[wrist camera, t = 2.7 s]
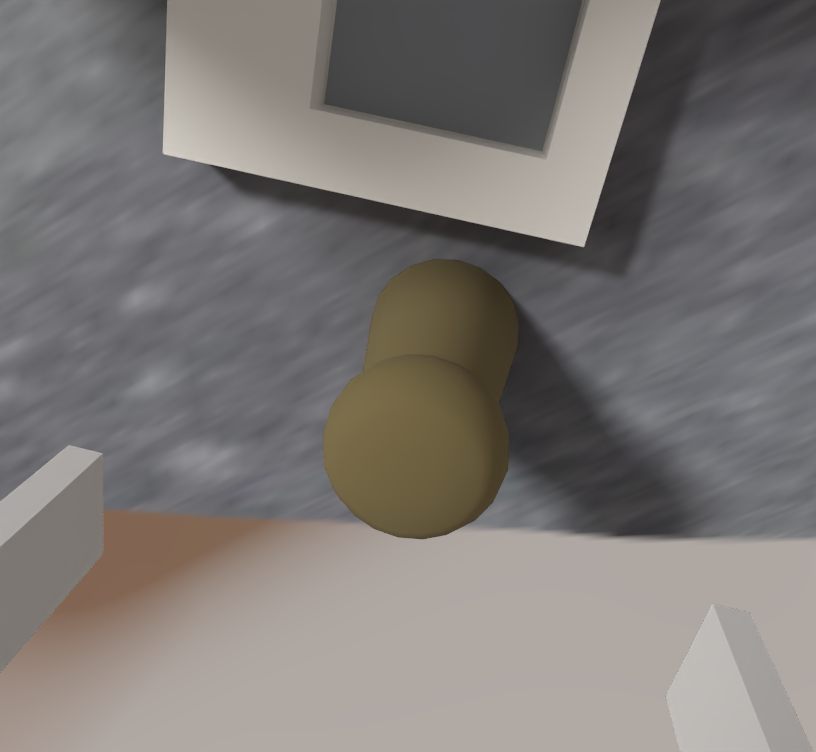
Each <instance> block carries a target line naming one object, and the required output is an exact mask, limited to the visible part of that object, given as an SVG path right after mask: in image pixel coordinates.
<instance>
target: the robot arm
mask: <svg viewBox="0 0 816 752" xmlns="http://www.w3.org/2000/svg"><path fill="white" fill-rule="evenodd" d="M102 554H103V453H99V452H95V451H91V450H87V449H82V448H78V447H74V446H70V445H68V446H67V447H66V448H65V449H64V450H62V451H61V452H60V453H59V454H57V455H56V456H55V457H54V458H53V459H51V460H50V461H49V462H48V463H47V464H45V465H44V466H43V467H42V468H40V469H39V470H38V471H37V472H36V473H34V474H33V475H32V476H31V477H30V478H28V479H27V480H26V481H25V482H23V483H22V484H21V485H20V486H19V487H17V488H16V489H15V490H14V491H12V492H11V493H10V494H9V495H8V496H6V497H5V498H4V499H3V500H2V501H0V673H1V671H2V670H3V669H4V668H5V667H6V666H7V665H8V663H9V662H10V661H11V660H12V659H13V658H14V656H15V655H16V654H17V653H18V652H19V651H20V649H21V648H22V647H23V646H24V645H25V644H26V643H27V641H28V640H29V639H30V638H31V637H32V636H33V634H34V633H35V632H36V631H37V630H38V629H39V627H40V626H41V625H42V624H43V623H44V622H45V620H46V619H47V618H48V617H49V616H50V615H51V613H52V612H53V611H54V610H55V609H56V608H57V607H58V605H59V604H60V603H61V602H62V601H63V600H64V598H65V597H66V596H67V595H68V594H69V593H70V591H71V590H72V589H73V588H74V587H75V586H76V585H77V583H78V582H79V581H80V580H81V579H82V577H83V576H84V575H85V574H86V573H87V572H88V571H89V570H90V568H91V567H92V566H93V565H94V564H95V563H96V561H97V560H98V559H99V558H100V557H101V555H102ZM666 700H667V704H668V708H669V712H670V715H671V719H672V723H673V727H674V731H675V735H676V739H677V743H678V747H679V751H680V752H813V750H812V748H811V746H810V744H809V741H808V739H807V737H806V735H805V732H804V730H803V728H802V726H801V724H800V721H799V719H798V717H797V715H796V713H795V710H794V708H793V706H792V704H791V702H790V699H789V697H788V695H787V693H786V691H785V689H784V686H783V684H782V682H781V680H780V678H779V675H778V673H777V671H776V669H775V667H774V664H773V662H772V660H771V658H770V656H769V653H768V651H767V649H766V647H765V645H764V642H763V640H762V638H761V636H760V634H759V632H758V629H757V627H756V625H755V623H754V620H753V619H752V616H751V614H750V612H746V611H741V610H737V609H733V608H729V607H725V606H721V605H717V604H712V606H711V608H710V610H709V612H708V614H707V615H706V617H705V620H704V621H703V623H702V625H701V627H700V629H699V631H698V633H697V635H696V637H695V639H694V641H693V643H692V645H691V647H690V649H689V651H688V653H687V655H686V657H685V659H684V661H683V663H682V665H681V667H680V668H679V670H678V673H677V675H676V676H675V678H674V680H673V682H672V684H671V687H670V688H669V690H668V692H667V695H666Z"/></svg>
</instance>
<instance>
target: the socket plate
mask: <svg viewBox="0 0 816 752" xmlns="http://www.w3.org/2000/svg"><path fill="white" fill-rule="evenodd" d="M660 1H661V0H167V28H166V63H165V97H164V132H163V154H166V155H170V156H175V157H179V158H184V159H188V160H193V161H197V162H202V163H206V164H211V165H215V166H220V167H224V168H229V169H233V170H238V171H242V172H247V173H251V174H256V175H260V176H265V177H269V178H274V179H278V180H283V181H288V182H292V183H297V184H301V185H306V186H310V187H315V188H319V189H324V190H328V191H333V192H337V193H342V194H346V195H351V196H355V197H360V198H364V199H369V200H373V201H378V202H382V203H387V204H391V205H396V206H400V207H405V208H409V209H414V210H418V211H423V212H427V213H432V214H436V215H441V216H445V217H450V218H454V219H459V220H463V221H468V222H472V223H477V224H481V225H486V226H490V227H495V228H499V229H504V230H508V231H513V232H517V233H522V234H526V235H531V236H535V237H540V238H544V239H549V240H554V241H558V242H563V243H567V244H572V245H576V246H581V247H584V246H585V242H586V239H587V236H588V233H589V229H590V226H591V223H592V220H593V217H594V213H595V210H596V207H597V204H598V200H599V197H600V194H601V191H602V187H603V184H604V181H605V178H606V175H607V171H608V168H609V165H610V162H611V158H612V155H613V152H614V149H615V146H616V142H617V139H618V136H619V133H620V129H621V126H622V123H623V120H624V117H625V113H626V110H627V107H628V104H629V100H630V97H631V94H632V91H633V88H634V84H635V81H636V78H637V75H638V71H639V68H640V65H641V62H642V59H643V55H644V52H645V49H646V46H647V42H648V39H649V36H650V33H651V30H652V26H653V23H654V20H655V17H656V13H657V10H658V7H659V4H660Z"/></svg>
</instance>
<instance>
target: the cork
mask: <svg viewBox="0 0 816 752" xmlns="http://www.w3.org/2000/svg"><path fill="white" fill-rule="evenodd" d="M518 339H519V321H518V317H517V313H516V310H515V306H514V303H513V301H512V299H511V298H510V296H509V295H508V294H507V292H506V291H505V289H504V288H503V286H502V285H501V283H500V282H498V281H497V280H496V279H494V278H493V277H492V276H490V275H489V274H488V273H486V272H485V271H484V270H483V269H481V268H479V267H476V266H473V265H470V264H467V263H465V262H462V261H459V260H435V259H433V260H430V261H426V262H423V263H419V264H416V265H413V266H410V267H408V268H407V269H406V270H404V271H403V272H401V273H400V274H398V275H397V276H395V277H394V278H393V279H391V280H390V282H389V283H388V285H387V286H386V287H385V289H384V290H383V291H382V293H381V294H380V295H379V297H378V299H377V302H376V306H375V309H374V312H373V315H372V319H371V325H370V331H369V337H368V343H367V349H366V355H365V361H364V367H363V372H362V373H361V374H359V375H358V376H356V377H354V378H353V379H351V381H350V382H349V383H348V385H347V386H346V387H345V389H344V390H343V391H342V392H341V394H340V395H339V396H338V398H337V399H336V401H335V402H334V404H333V406H332V408H331V409H330V413H329V416H328V419H327V423H326V426H325V430H324V433H323V450H324V465H325V470H326V472H327V475H328V477H329V479H330V482H331V484H332V486H333V489H334V491H335V493H336V494H337V495H338V497H339V498H340V499H341V500H342V502H343V503H344V504H345V505H346V506H347V507H348V509H349V510H350V511H351V512H352V513H353V514H354V516H356V517H357V518H359V519H360V520H362V521H363V522H365V523H366V524H368V525H369V526H371V527H372V528H374V529H376V530H379V531H382V532H384V533H387V534H390V535H393V536H396V537H402V538H414V539H427V538H432V537H437V536H442V535H447V534H449V533H451V532H453V531H455V530H457V529H459V528H461V527H463V526H465V525H467V524H469V523H471V522H473V521H475V520H476V519H477V518H478V517H479V516H480V515H481V514H482V513H483V512H484V511H485V510H486V509H487V508H488V507H489V506H490V505H491V504H492V503H493V501H494V499H495V497H496V495H497V493H498V491H499V488H500V486H501V484H502V482H503V480H504V477H505V475H506V473H507V471H508V459H509V432H508V429H507V426H506V423H505V419H504V416H503V413H502V409H501V407H500V406H499V402H500V399H501V396H502V393H503V390H504V387H505V384H506V381H507V378H508V375H509V372H510V369H511V366H512V363H513V360H514V357H515V354H516V351H517V348H518Z"/></svg>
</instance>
